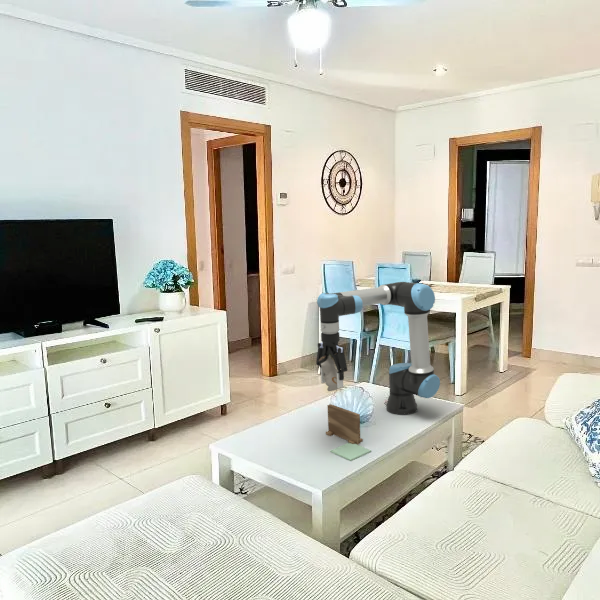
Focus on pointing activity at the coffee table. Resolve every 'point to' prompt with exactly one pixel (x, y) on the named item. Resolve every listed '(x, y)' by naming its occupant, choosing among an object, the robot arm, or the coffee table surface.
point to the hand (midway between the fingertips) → (332, 384)
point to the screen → (344, 424)
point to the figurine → (329, 372)
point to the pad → (350, 451)
